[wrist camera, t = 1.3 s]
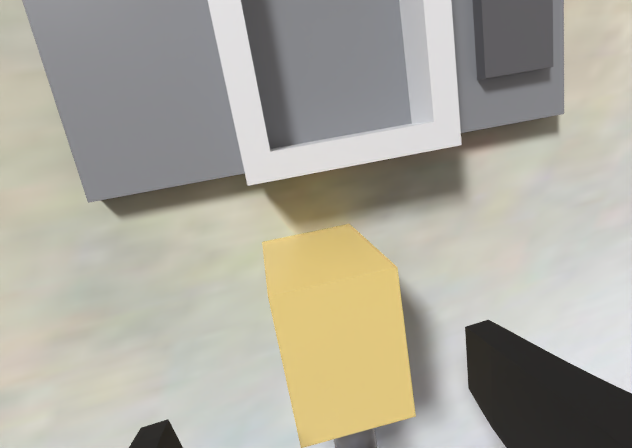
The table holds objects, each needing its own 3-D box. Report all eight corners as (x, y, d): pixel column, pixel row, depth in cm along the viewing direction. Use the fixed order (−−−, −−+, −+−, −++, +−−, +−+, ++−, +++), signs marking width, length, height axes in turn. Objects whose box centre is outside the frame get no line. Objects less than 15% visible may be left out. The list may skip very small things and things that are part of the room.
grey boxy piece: (543, -121, 16) (610, -179, 13) (547, 120, 18) (604, 117, 15) (14, -65, 13) (-53, -122, 10) (100, 204, 16) (65, 220, 13)
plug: (348, 223, 18) (397, 267, 12) (370, 365, 19) (421, 463, 14) (262, 241, 17) (267, 296, 11) (293, 385, 19) (311, 495, 13)
